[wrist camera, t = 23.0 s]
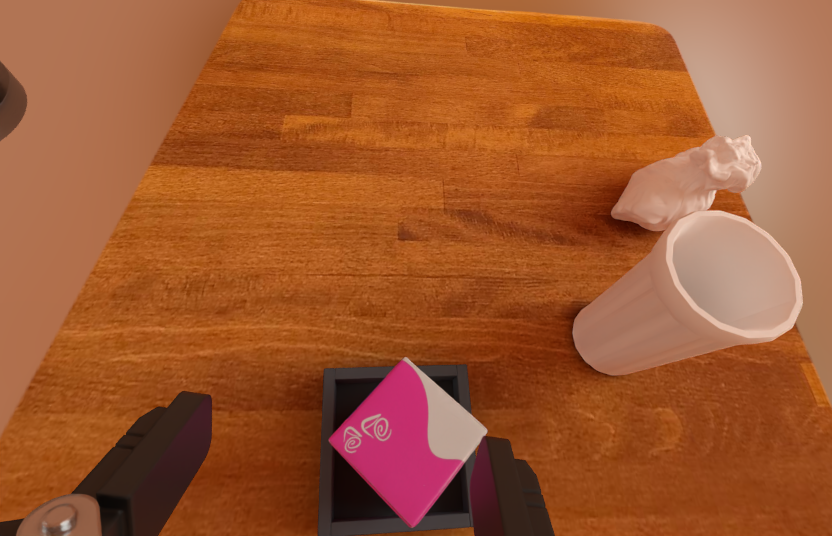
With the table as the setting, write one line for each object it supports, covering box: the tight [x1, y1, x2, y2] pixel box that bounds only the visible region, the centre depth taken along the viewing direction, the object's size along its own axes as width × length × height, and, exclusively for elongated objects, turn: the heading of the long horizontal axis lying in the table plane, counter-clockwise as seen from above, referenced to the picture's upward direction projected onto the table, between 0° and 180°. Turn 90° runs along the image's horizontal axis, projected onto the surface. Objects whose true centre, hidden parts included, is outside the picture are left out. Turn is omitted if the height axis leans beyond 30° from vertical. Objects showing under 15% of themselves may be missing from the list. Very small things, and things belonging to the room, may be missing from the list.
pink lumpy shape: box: [611, 135, 761, 231], centre depth 39 cm, size 12×8×11 cm
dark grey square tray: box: [318, 364, 476, 536], centre depth 31 cm, size 10×10×3 cm
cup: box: [572, 211, 803, 376], centre depth 31 cm, size 8×8×14 cm
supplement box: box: [328, 357, 488, 528], centre depth 26 cm, size 6×6×12 cm
